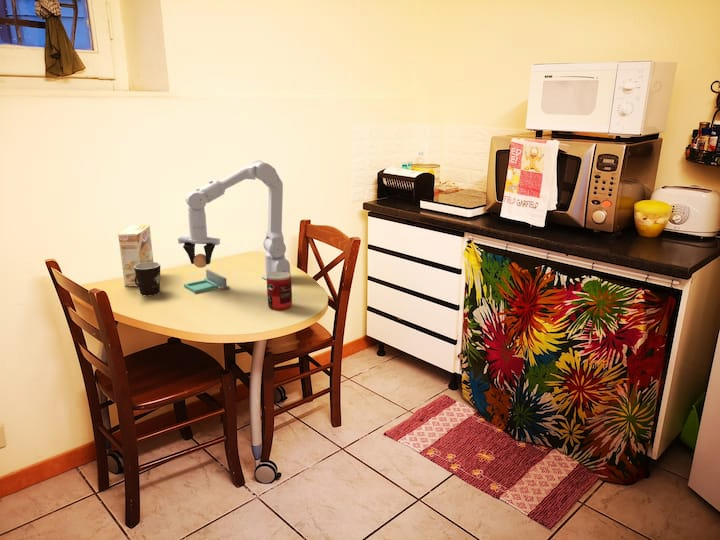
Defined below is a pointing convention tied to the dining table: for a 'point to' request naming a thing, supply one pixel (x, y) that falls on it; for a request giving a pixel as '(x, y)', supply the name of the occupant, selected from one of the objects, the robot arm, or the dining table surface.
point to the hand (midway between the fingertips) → (200, 263)
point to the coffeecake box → (134, 250)
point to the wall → (216, 279)
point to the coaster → (201, 286)
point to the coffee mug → (148, 277)
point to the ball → (200, 260)
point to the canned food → (279, 290)
